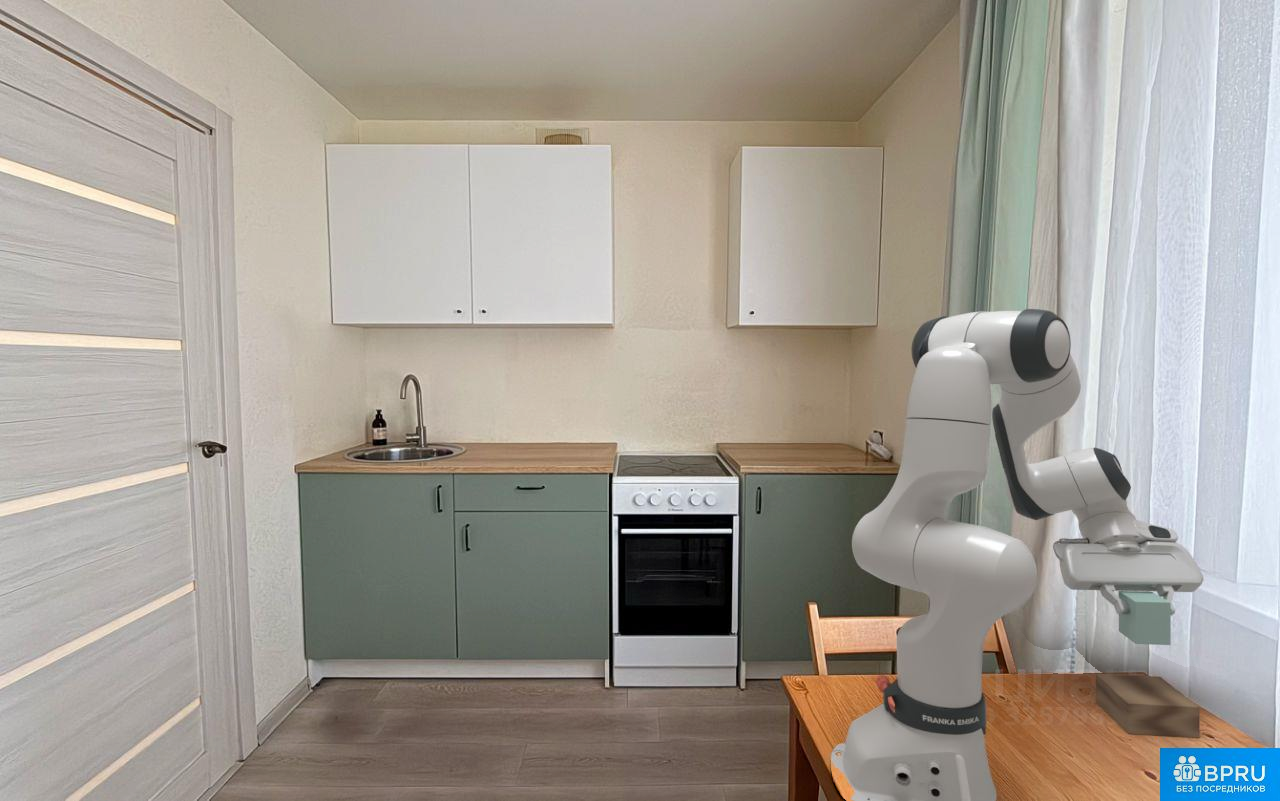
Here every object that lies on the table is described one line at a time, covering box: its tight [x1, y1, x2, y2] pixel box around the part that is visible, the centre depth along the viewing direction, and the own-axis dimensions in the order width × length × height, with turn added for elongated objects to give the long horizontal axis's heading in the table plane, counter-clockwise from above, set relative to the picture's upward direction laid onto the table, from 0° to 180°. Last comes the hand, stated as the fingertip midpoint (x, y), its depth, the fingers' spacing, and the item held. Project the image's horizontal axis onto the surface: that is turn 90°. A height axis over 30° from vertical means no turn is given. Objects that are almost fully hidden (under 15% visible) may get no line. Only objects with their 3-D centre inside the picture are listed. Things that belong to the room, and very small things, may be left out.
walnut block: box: [1095, 673, 1200, 738], centre depth 106 cm, size 10×10×5 cm
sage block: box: [1118, 591, 1172, 646], centre depth 106 cm, size 5×5×7 cm
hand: (1146, 613), depth 105 cm, fingers closed on sage block, 5 cm apart
